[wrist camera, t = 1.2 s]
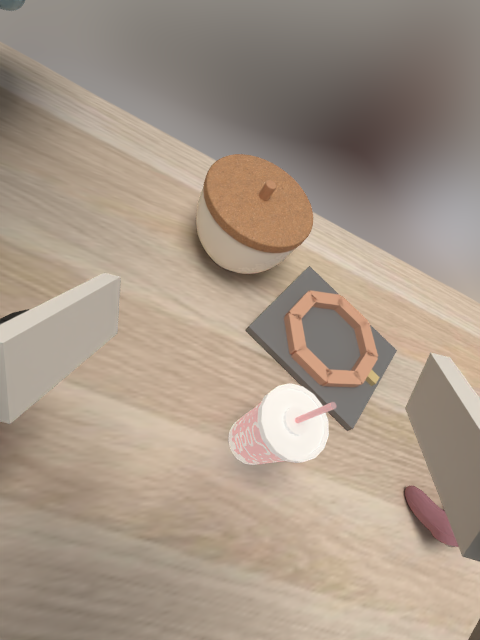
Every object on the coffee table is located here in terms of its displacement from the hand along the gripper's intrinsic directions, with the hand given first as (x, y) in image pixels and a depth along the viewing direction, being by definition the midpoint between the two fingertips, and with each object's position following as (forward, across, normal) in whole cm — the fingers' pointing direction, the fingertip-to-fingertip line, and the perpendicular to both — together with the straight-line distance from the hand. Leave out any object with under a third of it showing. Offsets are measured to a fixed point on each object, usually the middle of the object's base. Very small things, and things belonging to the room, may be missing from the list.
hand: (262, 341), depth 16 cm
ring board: (+29, +7, -12) cm, 32 cm away
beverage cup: (+15, +1, -18) cm, 24 cm away
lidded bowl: (+32, -7, -4) cm, 33 cm away
